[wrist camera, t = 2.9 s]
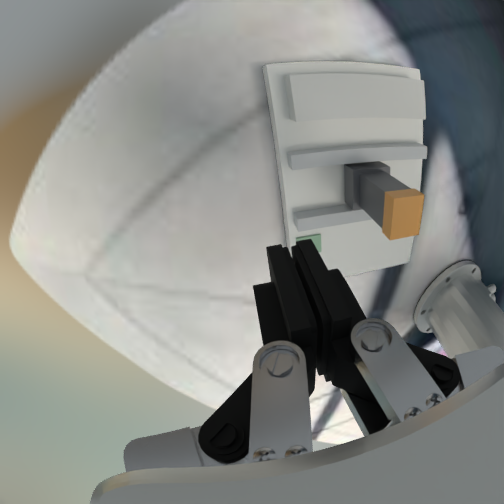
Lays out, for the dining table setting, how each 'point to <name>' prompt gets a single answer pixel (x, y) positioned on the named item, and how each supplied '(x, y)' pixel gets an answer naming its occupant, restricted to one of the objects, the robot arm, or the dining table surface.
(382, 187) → the switch handle
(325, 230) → the breaker panel
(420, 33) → the dining table surface
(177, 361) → the dining table surface
